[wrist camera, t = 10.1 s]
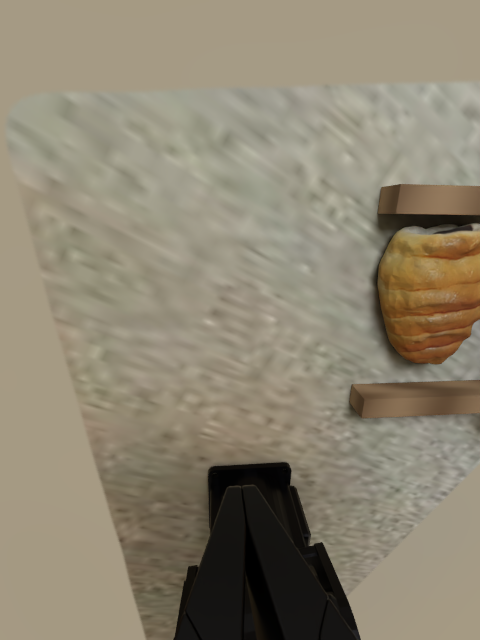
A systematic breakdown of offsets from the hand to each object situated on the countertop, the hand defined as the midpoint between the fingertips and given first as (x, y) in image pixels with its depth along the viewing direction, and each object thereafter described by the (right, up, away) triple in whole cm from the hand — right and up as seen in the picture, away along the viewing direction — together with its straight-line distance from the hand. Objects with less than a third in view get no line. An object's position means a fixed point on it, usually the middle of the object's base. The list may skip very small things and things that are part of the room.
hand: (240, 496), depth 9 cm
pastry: (+12, +8, +12) cm, 19 cm away
